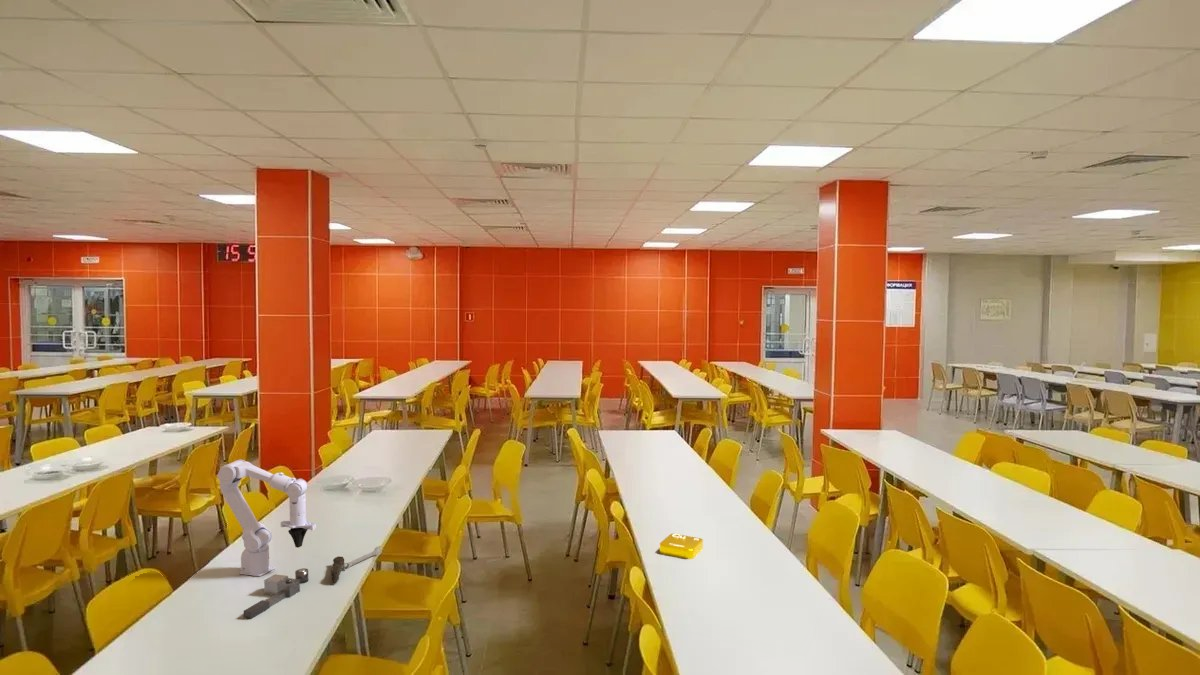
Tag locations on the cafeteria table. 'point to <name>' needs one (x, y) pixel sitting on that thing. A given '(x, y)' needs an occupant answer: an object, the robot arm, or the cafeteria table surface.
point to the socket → (302, 575)
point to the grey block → (273, 584)
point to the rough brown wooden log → (336, 568)
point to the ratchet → (274, 597)
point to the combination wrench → (362, 558)
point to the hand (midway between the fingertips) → (298, 546)
